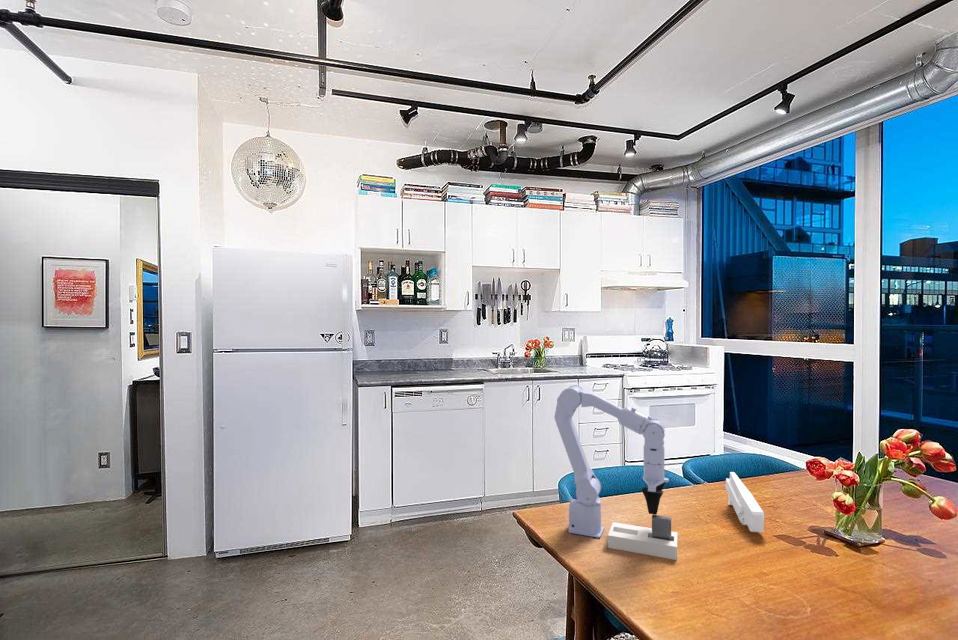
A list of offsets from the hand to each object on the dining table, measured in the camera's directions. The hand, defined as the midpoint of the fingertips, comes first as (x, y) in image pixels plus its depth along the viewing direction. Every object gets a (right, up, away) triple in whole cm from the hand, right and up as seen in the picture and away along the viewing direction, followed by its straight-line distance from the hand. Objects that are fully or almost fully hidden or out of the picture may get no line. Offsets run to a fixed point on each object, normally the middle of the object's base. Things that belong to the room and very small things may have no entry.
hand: (653, 509), depth 140 cm
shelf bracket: (+35, -10, +16) cm, 40 cm away
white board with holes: (-4, -9, -3) cm, 11 cm away
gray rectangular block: (0, -9, -5) cm, 11 cm away
